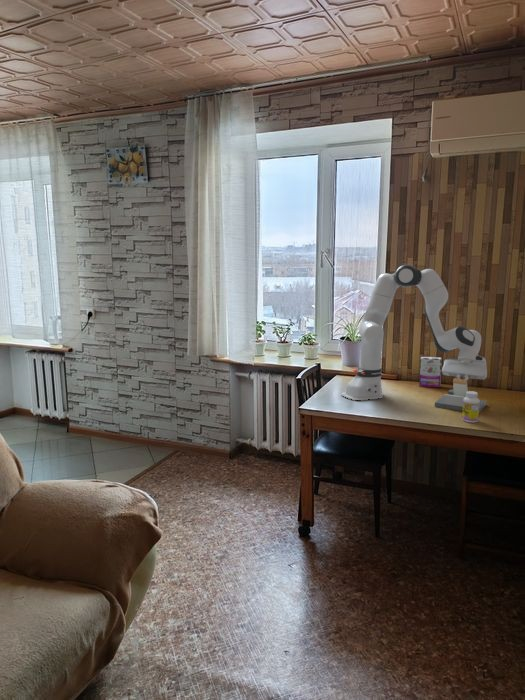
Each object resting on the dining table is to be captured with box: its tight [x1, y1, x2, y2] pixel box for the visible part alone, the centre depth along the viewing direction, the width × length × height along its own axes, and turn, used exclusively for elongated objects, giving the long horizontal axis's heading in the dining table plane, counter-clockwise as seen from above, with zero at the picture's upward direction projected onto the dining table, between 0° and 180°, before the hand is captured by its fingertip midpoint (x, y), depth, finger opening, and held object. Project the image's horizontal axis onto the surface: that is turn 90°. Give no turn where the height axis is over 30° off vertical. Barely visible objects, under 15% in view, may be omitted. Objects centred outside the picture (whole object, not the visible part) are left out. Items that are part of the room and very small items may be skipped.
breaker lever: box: [452, 377, 469, 397], centre depth 238 cm, size 2×6×12 cm, turn 55°
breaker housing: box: [434, 389, 487, 414], centre depth 240 cm, size 16×20×7 cm
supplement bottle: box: [461, 390, 480, 424], centre depth 218 cm, size 7×7×13 cm
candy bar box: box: [418, 356, 443, 389], centre depth 277 cm, size 11×5×16 cm, turn 68°
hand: (461, 383), depth 237 cm, fingers closed, pressing on breaker lever
